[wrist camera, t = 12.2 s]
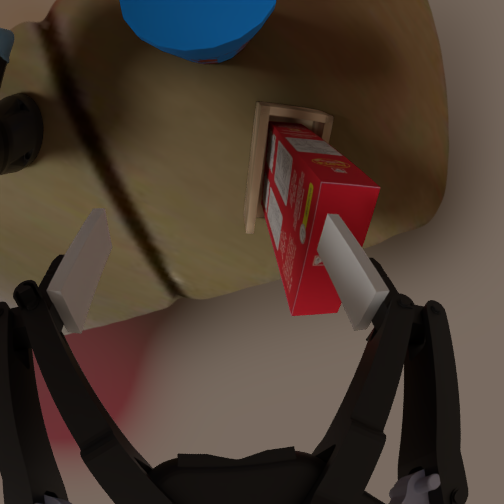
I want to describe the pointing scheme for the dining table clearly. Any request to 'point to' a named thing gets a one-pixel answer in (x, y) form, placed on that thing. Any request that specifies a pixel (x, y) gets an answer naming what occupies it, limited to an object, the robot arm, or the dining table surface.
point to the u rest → (263, 114)
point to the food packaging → (310, 210)
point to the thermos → (197, 25)
